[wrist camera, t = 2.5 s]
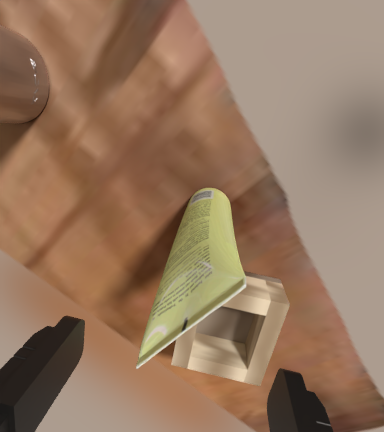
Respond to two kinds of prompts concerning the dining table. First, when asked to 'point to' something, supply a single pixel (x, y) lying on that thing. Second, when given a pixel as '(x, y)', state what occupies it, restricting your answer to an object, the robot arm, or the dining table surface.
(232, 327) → the socket block
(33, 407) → the robot arm
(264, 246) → the dining table surface
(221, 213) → the tube
